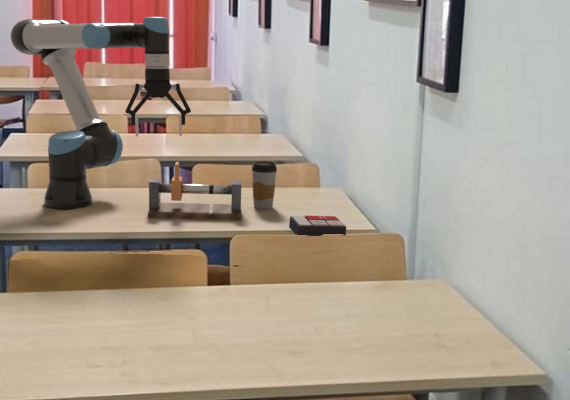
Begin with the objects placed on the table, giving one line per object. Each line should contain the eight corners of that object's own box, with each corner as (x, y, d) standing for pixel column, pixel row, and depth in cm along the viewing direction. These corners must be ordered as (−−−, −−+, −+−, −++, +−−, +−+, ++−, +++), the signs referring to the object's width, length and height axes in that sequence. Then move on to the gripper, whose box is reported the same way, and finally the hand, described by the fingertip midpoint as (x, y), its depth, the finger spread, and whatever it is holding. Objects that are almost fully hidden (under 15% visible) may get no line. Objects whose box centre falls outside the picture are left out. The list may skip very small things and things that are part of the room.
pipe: (149, 209, 259) (149, 182, 257) (151, 205, 265) (151, 178, 263) (240, 212, 261) (241, 184, 259) (240, 207, 266) (241, 180, 264)
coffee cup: (279, 206, 276) (281, 162, 272) (268, 211, 269) (270, 166, 265) (257, 203, 279) (259, 160, 276) (246, 208, 272) (247, 163, 268)
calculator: (347, 224, 244) (298, 223, 241) (345, 238, 245) (297, 237, 242) (336, 215, 255) (289, 213, 251) (335, 228, 256) (288, 227, 252)
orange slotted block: (171, 200, 258) (171, 165, 256) (172, 195, 265) (173, 161, 262) (180, 200, 259) (181, 165, 256) (182, 196, 265) (182, 161, 262)
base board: (147, 217, 256) (147, 212, 255) (152, 206, 269) (152, 202, 269) (240, 220, 257) (240, 215, 257) (240, 208, 271) (240, 204, 270)
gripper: (115, 68, 249) (117, 137, 253) (197, 68, 252) (198, 136, 257) (117, 66, 256) (119, 134, 261) (197, 67, 259) (198, 133, 264)
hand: (158, 135), depth 259 cm, fingers open, 13 cm apart
